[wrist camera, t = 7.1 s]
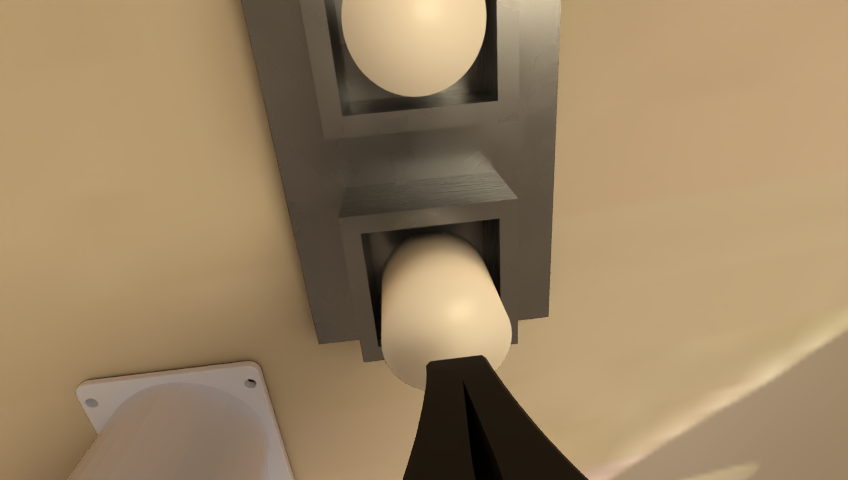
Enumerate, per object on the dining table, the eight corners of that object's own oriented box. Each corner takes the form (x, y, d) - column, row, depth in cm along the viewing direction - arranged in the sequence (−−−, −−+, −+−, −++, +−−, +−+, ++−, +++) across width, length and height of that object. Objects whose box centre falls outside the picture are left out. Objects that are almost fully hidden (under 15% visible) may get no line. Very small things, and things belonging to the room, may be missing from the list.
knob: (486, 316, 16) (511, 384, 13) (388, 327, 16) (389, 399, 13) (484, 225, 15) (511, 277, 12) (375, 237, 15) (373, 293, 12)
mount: (541, 304, 21) (574, 362, 17) (321, 330, 20) (308, 395, 17) (568, -566, 10) (666, -883, 7) (129, -550, 10) (-13, -876, 6)
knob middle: (466, 77, 15) (488, 89, 12) (359, 88, 15) (352, 102, 12) (460, -48, 14) (484, -72, 11) (341, -38, 14) (329, -59, 10)
